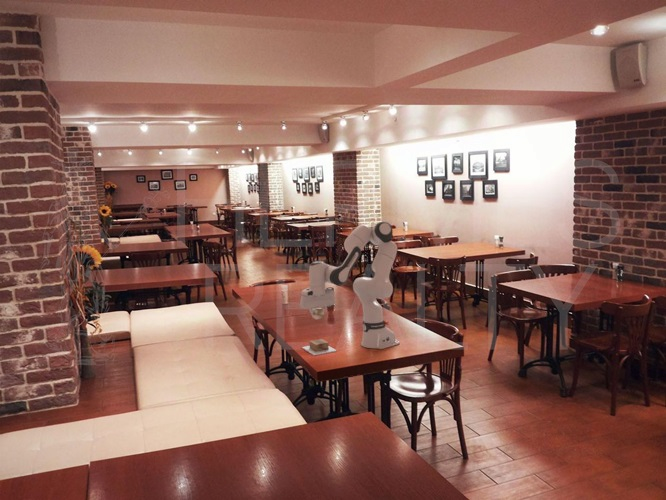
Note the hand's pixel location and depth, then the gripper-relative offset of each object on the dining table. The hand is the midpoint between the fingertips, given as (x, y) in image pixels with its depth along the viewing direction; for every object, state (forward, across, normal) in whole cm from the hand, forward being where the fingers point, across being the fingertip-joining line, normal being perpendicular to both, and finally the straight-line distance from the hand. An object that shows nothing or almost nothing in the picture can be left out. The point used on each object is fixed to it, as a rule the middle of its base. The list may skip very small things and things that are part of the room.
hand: (318, 314), depth 296 cm
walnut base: (+20, 0, 0) cm, 20 cm away
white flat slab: (+20, 0, 0) cm, 20 cm away
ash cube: (+2, 0, 0) cm, 2 cm away
